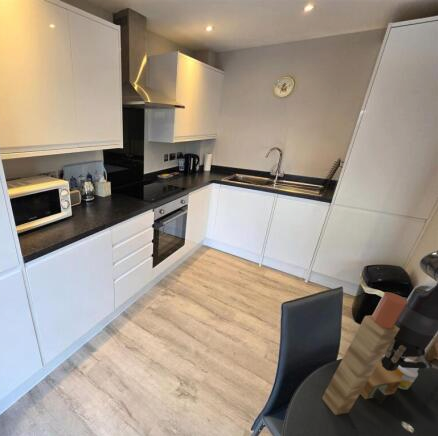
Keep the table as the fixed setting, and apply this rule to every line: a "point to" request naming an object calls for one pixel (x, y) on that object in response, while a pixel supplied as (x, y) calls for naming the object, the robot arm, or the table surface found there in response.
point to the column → (358, 365)
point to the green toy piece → (379, 393)
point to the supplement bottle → (406, 375)
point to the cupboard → (381, 381)
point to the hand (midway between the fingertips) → (386, 368)
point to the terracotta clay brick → (389, 310)
